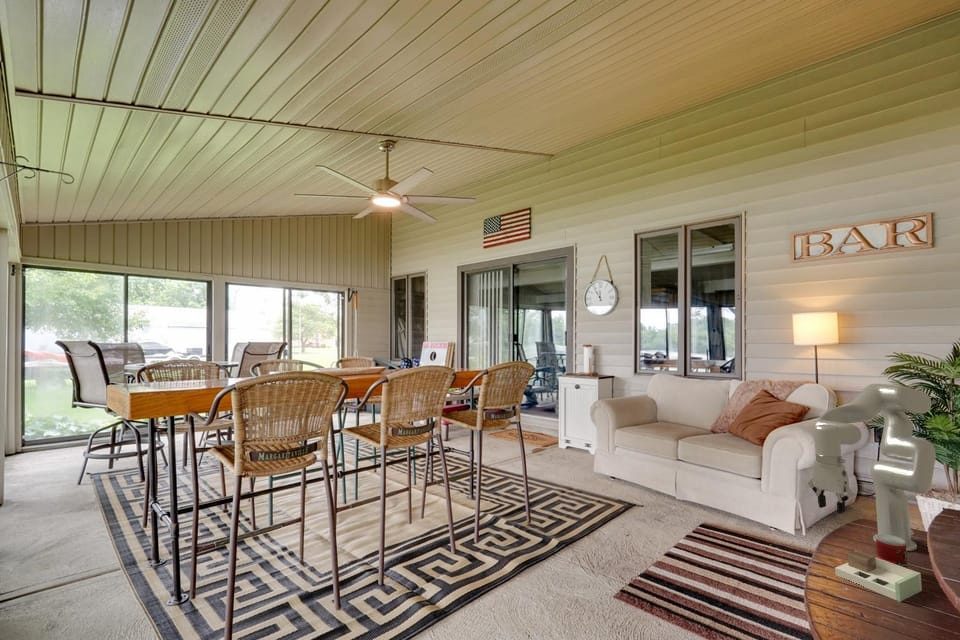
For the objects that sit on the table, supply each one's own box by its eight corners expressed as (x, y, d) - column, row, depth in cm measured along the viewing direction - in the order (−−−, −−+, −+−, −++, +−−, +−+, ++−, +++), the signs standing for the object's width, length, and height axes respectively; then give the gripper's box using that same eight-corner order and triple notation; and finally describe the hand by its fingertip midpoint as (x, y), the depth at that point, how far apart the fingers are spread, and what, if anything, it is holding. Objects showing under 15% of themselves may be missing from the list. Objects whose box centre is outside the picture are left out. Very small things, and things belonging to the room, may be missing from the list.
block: (857, 561, 163) (856, 550, 163) (876, 568, 158) (875, 556, 158) (848, 565, 160) (847, 553, 160) (866, 572, 155) (866, 560, 155)
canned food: (902, 579, 155) (899, 546, 155) (873, 568, 162) (871, 537, 162) (912, 572, 159) (910, 540, 159) (883, 563, 166) (881, 532, 166)
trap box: (857, 565, 164) (856, 550, 165) (921, 590, 148) (920, 573, 148) (835, 575, 159) (834, 559, 159) (900, 601, 143) (898, 583, 143)
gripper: (861, 463, 161) (865, 515, 161) (809, 452, 177) (812, 500, 177) (849, 466, 158) (852, 520, 158) (797, 455, 174) (800, 504, 173)
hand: (831, 509), depth 167 cm, fingers open, 5 cm apart
